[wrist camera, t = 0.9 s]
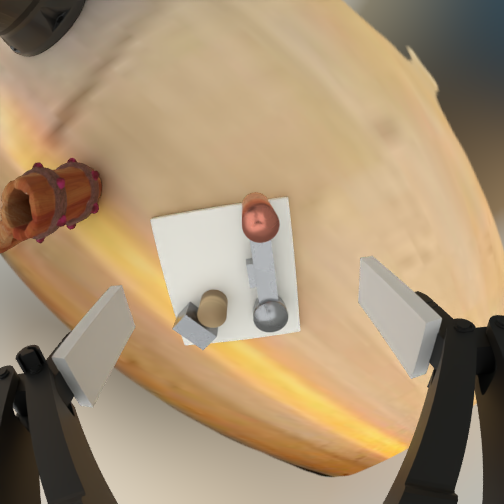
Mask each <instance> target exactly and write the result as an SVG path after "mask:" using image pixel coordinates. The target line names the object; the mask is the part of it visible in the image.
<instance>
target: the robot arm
mask: <svg viewBox="0 0 504 504" xmlns="http://www.w3.org/2000/svg"><path fill="white" fill-rule="evenodd" d="M84 2H85V0H0V37H1V38H2V39H3V40H4V41H5V42H6V43H7V44H8V45H9V46H10V48H11V49H12V50H13V51H14V52H15V53H17V54H20V55H23V56H34V55H37V54H39V53H42V52H43V51H45V50H47V49H48V48H49V47H51V46H52V45H53V44H55V43H56V42H57V41H58V40H59V39H60V38H61V37H62V36H63V35H64V34H65V33H66V32H67V31H68V29H69V28H70V27H71V26H72V24H73V23H74V22H75V20H76V19H77V17H78V15H79V14H80V12H81V10H82V7H83V5H84ZM358 303H359V304H360V306H361V307H362V308H363V310H364V311H365V312H366V314H367V315H368V317H369V318H370V319H371V321H372V322H373V324H374V325H375V326H376V328H377V329H378V331H379V332H380V334H381V335H382V336H383V338H384V339H385V341H386V342H387V344H388V345H389V347H390V348H391V349H392V351H393V352H394V354H395V355H396V357H397V358H398V360H399V361H400V363H401V364H402V366H403V367H404V369H405V370H406V372H407V373H408V375H409V376H410V378H411V379H412V378H415V377H418V376H421V375H423V374H426V372H427V369H428V366H429V363H430V364H431V365H432V366H433V367H434V370H433V373H432V376H431V378H430V381H429V384H428V386H427V387H429V388H428V392H427V396H426V399H425V402H424V406H423V409H422V412H421V416H420V419H419V422H418V425H417V427H416V430H415V433H414V436H413V439H412V441H411V444H410V446H409V449H408V452H407V454H406V457H405V459H404V461H403V463H402V466H401V468H400V470H399V472H398V475H397V477H396V479H395V481H394V483H393V485H392V487H391V489H390V491H389V493H388V495H387V497H386V499H385V501H384V503H383V504H457V502H458V496H457V495H456V494H455V491H454V490H455V486H456V483H457V479H458V476H459V472H460V469H461V465H462V461H463V457H464V453H465V448H466V443H467V439H468V433H469V428H470V422H471V415H472V408H473V400H474V390H475V394H476V400H477V406H478V413H479V419H480V429H481V438H482V453H483V502H482V504H504V316H502V315H501V316H500V315H495V316H492V317H491V318H490V320H489V322H488V326H487V327H479V328H476V327H475V325H474V324H473V323H472V322H470V321H468V320H465V319H458V318H457V319H453V318H452V317H451V316H449V315H448V314H447V313H446V312H445V311H444V310H443V309H442V308H441V307H440V306H438V305H437V304H436V303H435V302H433V300H432V299H431V298H430V297H428V296H427V295H425V294H423V293H421V292H419V291H417V292H413V291H412V290H411V289H410V288H409V287H408V286H407V285H406V284H405V283H403V282H402V281H401V280H400V279H399V278H398V277H397V276H395V275H394V274H393V273H392V272H391V271H390V270H389V269H387V268H386V267H385V266H384V265H383V264H382V263H380V262H379V261H378V260H377V259H376V258H374V257H373V256H370V257H362V258H360V280H359V299H358ZM134 328H135V324H134V321H133V318H132V315H131V312H130V309H129V306H128V303H127V300H126V297H125V294H124V290H123V287H122V285H119V286H110V288H109V289H108V290H107V291H106V292H105V293H104V294H103V295H102V297H101V298H100V299H99V300H98V301H97V302H96V303H95V304H94V306H93V307H92V308H91V309H90V310H89V311H88V313H87V314H86V315H85V316H84V317H83V318H82V320H81V321H80V322H79V323H78V324H77V326H76V327H75V328H74V329H73V330H72V331H71V332H69V333H68V334H67V335H66V336H65V337H64V338H63V340H62V342H60V343H59V345H58V347H56V348H55V350H54V351H53V352H52V353H51V355H50V356H49V357H48V358H47V360H45V358H44V356H43V354H42V352H41V350H40V348H39V347H38V346H37V345H30V346H27V347H25V348H23V349H22V350H21V351H19V353H18V354H17V355H16V360H17V362H18V363H19V365H20V367H21V369H22V370H23V372H24V373H23V374H17V373H16V371H15V369H14V368H13V366H4V367H1V368H0V504H41V498H40V481H39V475H40V479H41V483H42V486H43V489H44V493H45V496H46V499H47V502H48V504H118V503H117V501H116V499H115V498H114V496H113V494H112V492H111V491H110V489H109V487H108V485H107V483H106V481H105V479H104V477H103V475H102V473H101V471H100V469H99V467H98V465H97V463H96V461H95V459H94V456H93V454H92V452H91V450H90V447H89V444H88V442H87V440H86V437H85V435H84V432H83V429H82V427H81V424H80V421H79V418H78V416H77V413H76V410H75V407H74V406H73V404H72V403H71V401H72V399H73V397H75V398H76V400H77V401H78V403H79V404H80V405H81V406H87V407H94V405H95V403H96V401H97V399H98V397H99V395H100V393H101V391H102V389H103V387H104V385H105V383H106V381H107V379H108V377H109V375H110V373H111V371H112V369H113V367H114V365H115V364H116V362H117V360H118V358H119V356H120V354H121V352H122V350H123V348H124V347H125V345H126V343H127V341H128V339H129V337H130V336H131V334H132V332H133V330H134ZM13 408H14V409H15V411H16V412H17V414H16V415H15V414H14V411H13Z"/></svg>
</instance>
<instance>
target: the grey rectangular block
mask: <svg viewBox="0 0 504 504" xmlns="http://www.w3.org/2000/svg"><path fill="white" fill-rule="evenodd" d="M197 312H198V307H197V306H196V305H194V304H193V303H192V302H189V303H188V304H187V305H186V306H185V307H184V308H183V310H182V311H181V312H180V313H179V314H178V315H177V318H176V321H175V323H174V326H173V330H175V331H176V332H177V333H179V334H180V335H182V336H183V337H185V338H186V339H187V340H189V341H190V342H192V343H193V344H195V345H196V346H198V347H199V348H201V349H202V350H204V349H205V348H206V347H207V346H208V345H209V344H210V343H211V342H212V341H213V340H214V339H215V338H216V337H217V333H218V327H216V328H210V327H207V326H204V325H203V324H202V323H201V322H200V321H199V319H198V317H197Z"/></svg>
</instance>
